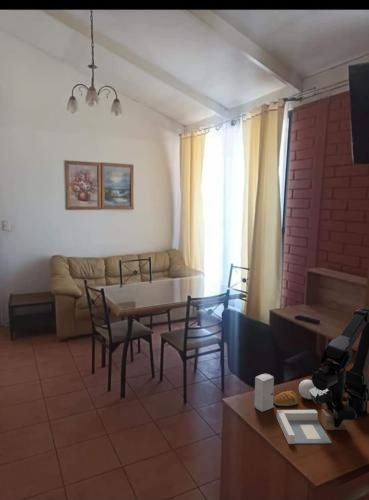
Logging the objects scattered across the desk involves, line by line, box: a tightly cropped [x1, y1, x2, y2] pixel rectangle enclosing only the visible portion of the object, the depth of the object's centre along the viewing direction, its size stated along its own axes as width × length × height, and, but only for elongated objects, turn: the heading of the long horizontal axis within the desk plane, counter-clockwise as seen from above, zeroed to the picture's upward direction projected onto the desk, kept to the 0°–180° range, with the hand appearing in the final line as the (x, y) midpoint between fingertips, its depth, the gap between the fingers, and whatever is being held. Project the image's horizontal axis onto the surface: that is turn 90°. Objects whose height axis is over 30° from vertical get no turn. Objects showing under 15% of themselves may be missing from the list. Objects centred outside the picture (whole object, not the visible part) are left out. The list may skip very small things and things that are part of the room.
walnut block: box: [320, 408, 348, 431], centre depth 123 cm, size 7×4×5 cm, turn 91°
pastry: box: [273, 390, 299, 407], centre depth 138 cm, size 9×7×4 cm
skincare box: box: [254, 373, 275, 413], centre depth 134 cm, size 6×4×12 cm
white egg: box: [298, 379, 315, 400], centre depth 141 cm, size 10×7×7 cm
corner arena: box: [276, 409, 333, 445], centre depth 121 cm, size 14×14×3 cm
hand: (333, 423), depth 123 cm, fingers closed on walnut block, 4 cm apart
